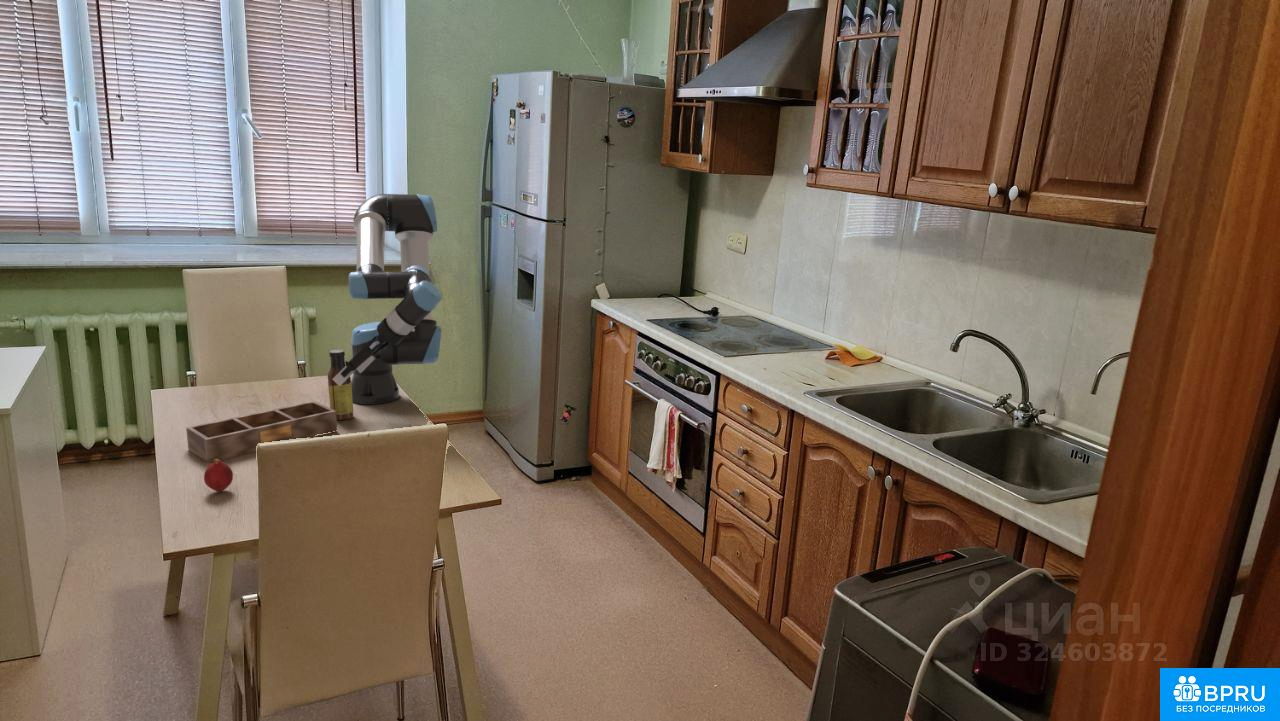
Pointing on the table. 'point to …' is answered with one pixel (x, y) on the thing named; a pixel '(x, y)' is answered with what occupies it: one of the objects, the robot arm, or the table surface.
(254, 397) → the table surface
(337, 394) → the sauce bottle
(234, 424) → the wooden compartment tray
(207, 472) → the onion
